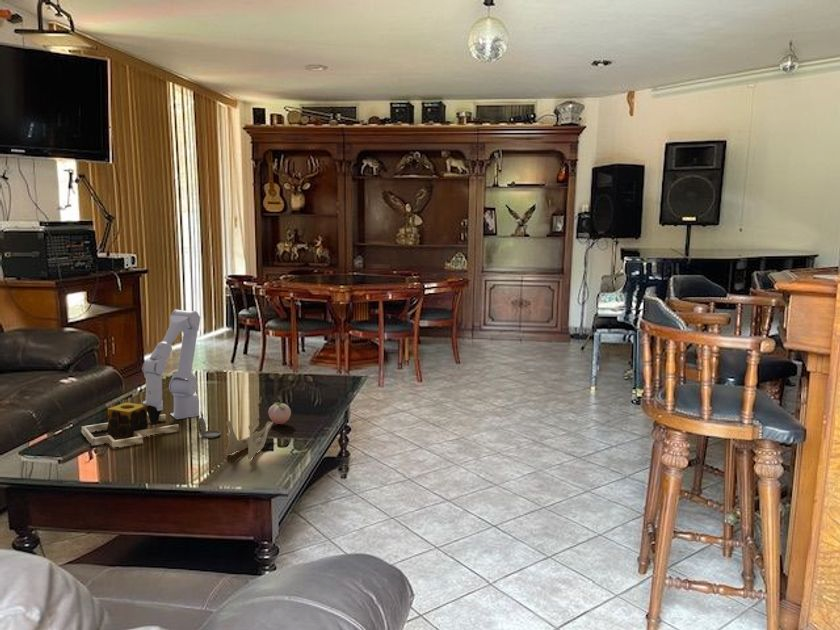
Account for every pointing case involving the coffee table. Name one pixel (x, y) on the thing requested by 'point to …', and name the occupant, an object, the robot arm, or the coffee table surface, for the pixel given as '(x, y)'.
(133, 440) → the trap channel
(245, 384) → the coffee table surface
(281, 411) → the decorative fruit
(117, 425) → the candle
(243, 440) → the jawbone
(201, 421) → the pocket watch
